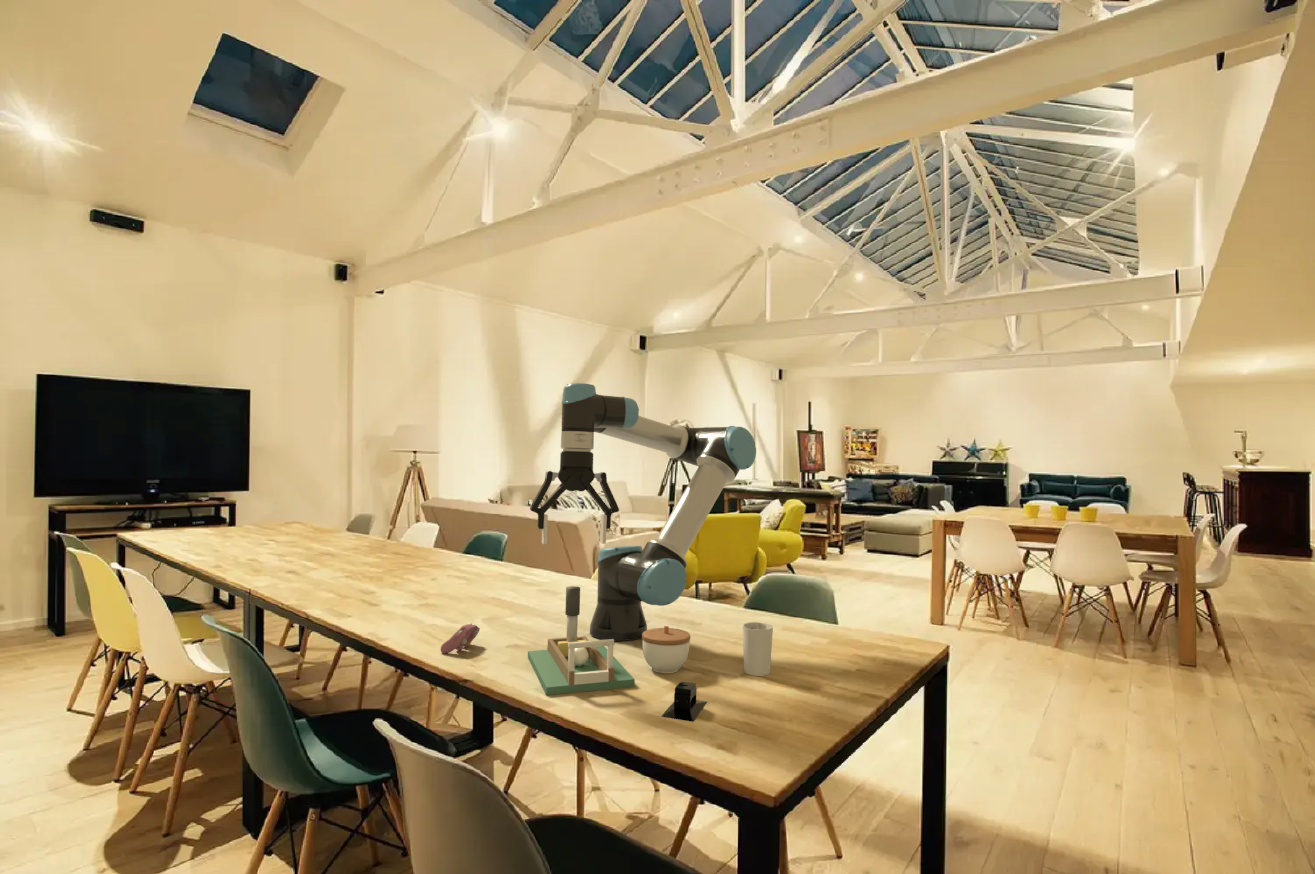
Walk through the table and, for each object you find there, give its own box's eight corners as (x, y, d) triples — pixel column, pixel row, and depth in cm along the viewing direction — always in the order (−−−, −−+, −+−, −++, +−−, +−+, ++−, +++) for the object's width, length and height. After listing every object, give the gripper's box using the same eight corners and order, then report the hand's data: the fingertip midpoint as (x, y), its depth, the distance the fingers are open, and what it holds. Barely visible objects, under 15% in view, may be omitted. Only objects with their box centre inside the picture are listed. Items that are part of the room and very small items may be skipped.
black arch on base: (676, 697, 129) (677, 672, 130) (714, 702, 127) (715, 677, 127) (654, 721, 117) (655, 694, 117) (696, 728, 114) (696, 700, 115)
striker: (583, 650, 151) (585, 585, 152) (586, 654, 148) (588, 588, 149) (556, 653, 149) (557, 586, 150) (558, 657, 146) (560, 589, 147)
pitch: (603, 651, 157) (604, 611, 157) (634, 686, 133) (635, 638, 133) (527, 657, 151) (529, 615, 151) (546, 695, 127) (547, 645, 128)
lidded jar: (695, 665, 148) (696, 623, 149) (681, 679, 138) (682, 634, 138) (650, 659, 152) (651, 618, 152) (634, 673, 142) (635, 629, 142)
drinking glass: (753, 678, 140) (754, 631, 140) (735, 668, 146) (736, 623, 146) (778, 674, 143) (779, 628, 144) (760, 665, 149) (760, 621, 149)
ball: (585, 662, 144) (586, 643, 144) (590, 667, 140) (590, 648, 140) (567, 663, 142) (568, 645, 142) (571, 669, 138) (572, 650, 139)
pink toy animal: (453, 661, 152) (466, 635, 151) (437, 651, 152) (450, 625, 152) (473, 649, 161) (485, 625, 161) (458, 640, 162) (470, 615, 162)
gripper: (524, 448, 143) (520, 546, 142) (633, 452, 151) (630, 544, 150) (520, 449, 150) (516, 541, 149) (624, 452, 158) (622, 540, 157)
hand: (573, 543), depth 150 cm, fingers open, 13 cm apart
